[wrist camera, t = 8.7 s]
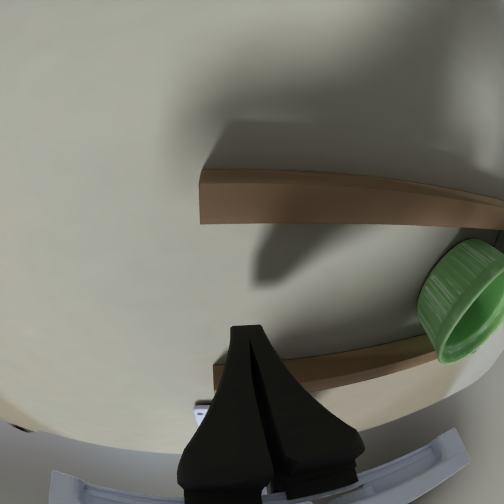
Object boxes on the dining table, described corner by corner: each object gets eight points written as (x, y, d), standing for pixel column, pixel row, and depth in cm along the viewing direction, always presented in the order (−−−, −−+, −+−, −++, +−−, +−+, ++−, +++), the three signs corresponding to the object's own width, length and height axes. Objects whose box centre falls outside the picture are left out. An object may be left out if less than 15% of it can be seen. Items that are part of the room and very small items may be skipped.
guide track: (460, 332, 21) (475, 352, 18) (214, 377, 18) (216, 413, 15) (518, 204, 14) (542, 221, 11) (201, 169, 11) (197, 193, 8)
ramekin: (501, 238, 15) (535, 267, 11) (454, 323, 20) (478, 355, 16) (446, 219, 13) (494, 256, 10) (389, 329, 18) (416, 374, 14)
